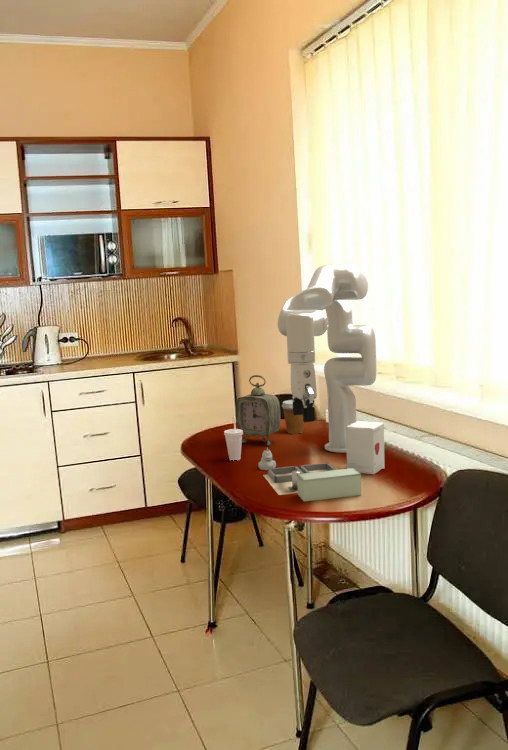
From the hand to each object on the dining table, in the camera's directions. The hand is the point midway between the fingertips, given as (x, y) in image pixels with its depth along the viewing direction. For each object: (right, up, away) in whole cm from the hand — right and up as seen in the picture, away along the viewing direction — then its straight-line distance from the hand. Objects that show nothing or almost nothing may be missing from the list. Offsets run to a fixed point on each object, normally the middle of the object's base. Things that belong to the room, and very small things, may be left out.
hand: (303, 418), depth 197 cm
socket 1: (-4, -18, +11) cm, 22 cm away
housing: (+7, -21, -7) cm, 23 cm away
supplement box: (+20, -18, +16) cm, 31 cm away
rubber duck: (-10, -18, +22) cm, 31 cm away
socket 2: (+5, -17, +13) cm, 22 cm away
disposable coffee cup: (+2, -10, +73) cm, 74 cm away
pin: (-2, -20, 0) cm, 20 cm away
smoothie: (-20, -16, +39) cm, 46 cm away
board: (+2, -20, +7) cm, 21 cm away
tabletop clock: (-11, -13, +60) cm, 62 cm away
